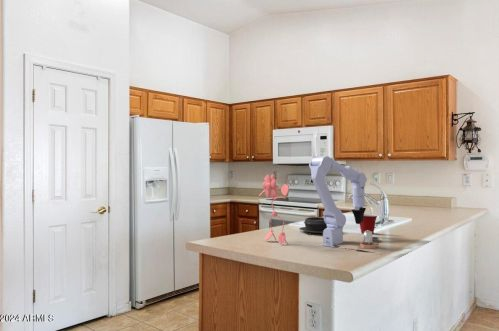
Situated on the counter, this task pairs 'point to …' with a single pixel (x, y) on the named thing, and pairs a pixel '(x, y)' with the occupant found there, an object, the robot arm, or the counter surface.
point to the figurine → (271, 190)
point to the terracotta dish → (368, 246)
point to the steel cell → (367, 237)
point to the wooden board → (365, 248)
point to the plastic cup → (368, 223)
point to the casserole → (314, 225)
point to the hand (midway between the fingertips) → (359, 222)
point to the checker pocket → (375, 239)
